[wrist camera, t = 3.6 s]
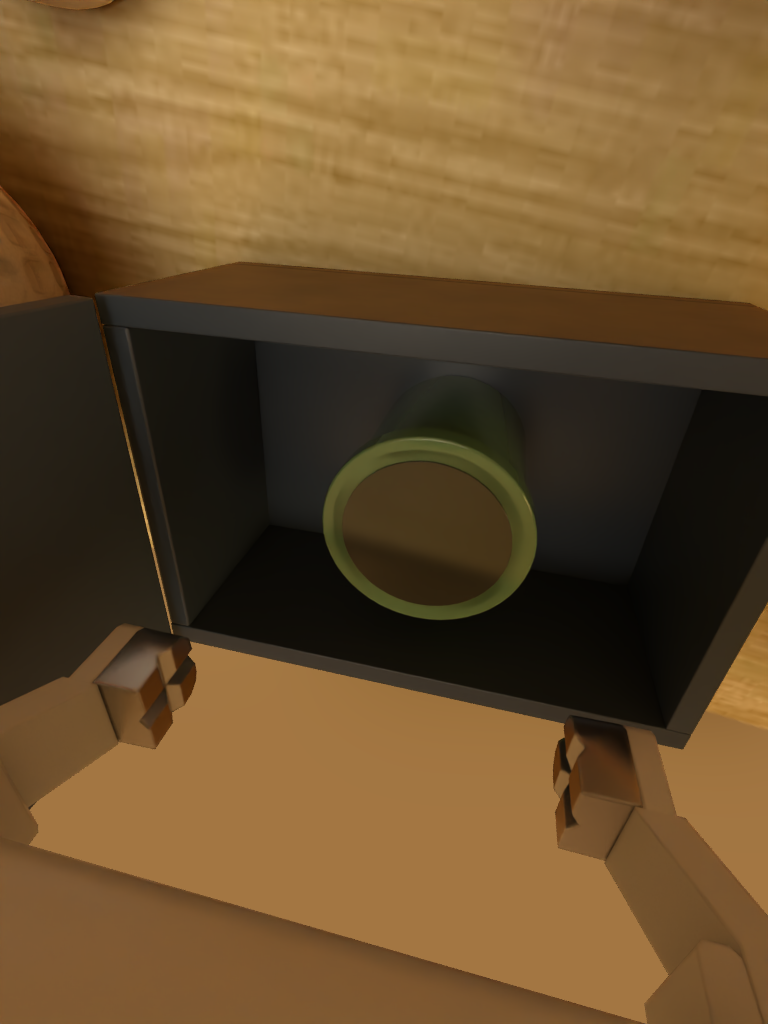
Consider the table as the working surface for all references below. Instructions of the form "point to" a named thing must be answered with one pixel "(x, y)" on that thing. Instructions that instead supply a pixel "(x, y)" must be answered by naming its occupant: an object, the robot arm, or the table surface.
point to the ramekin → (74, 3)
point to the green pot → (436, 504)
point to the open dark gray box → (549, 477)
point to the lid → (65, 499)
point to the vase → (25, 259)
